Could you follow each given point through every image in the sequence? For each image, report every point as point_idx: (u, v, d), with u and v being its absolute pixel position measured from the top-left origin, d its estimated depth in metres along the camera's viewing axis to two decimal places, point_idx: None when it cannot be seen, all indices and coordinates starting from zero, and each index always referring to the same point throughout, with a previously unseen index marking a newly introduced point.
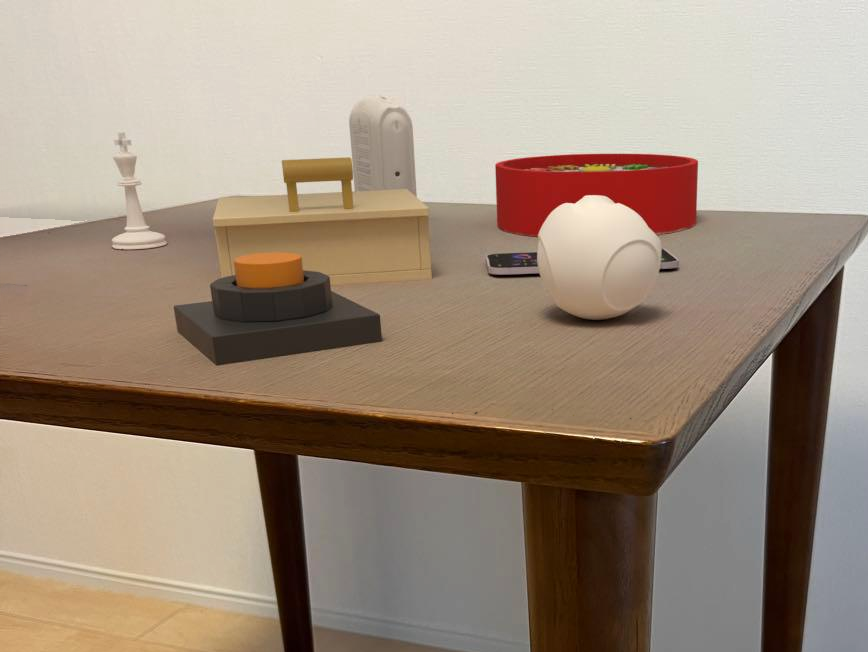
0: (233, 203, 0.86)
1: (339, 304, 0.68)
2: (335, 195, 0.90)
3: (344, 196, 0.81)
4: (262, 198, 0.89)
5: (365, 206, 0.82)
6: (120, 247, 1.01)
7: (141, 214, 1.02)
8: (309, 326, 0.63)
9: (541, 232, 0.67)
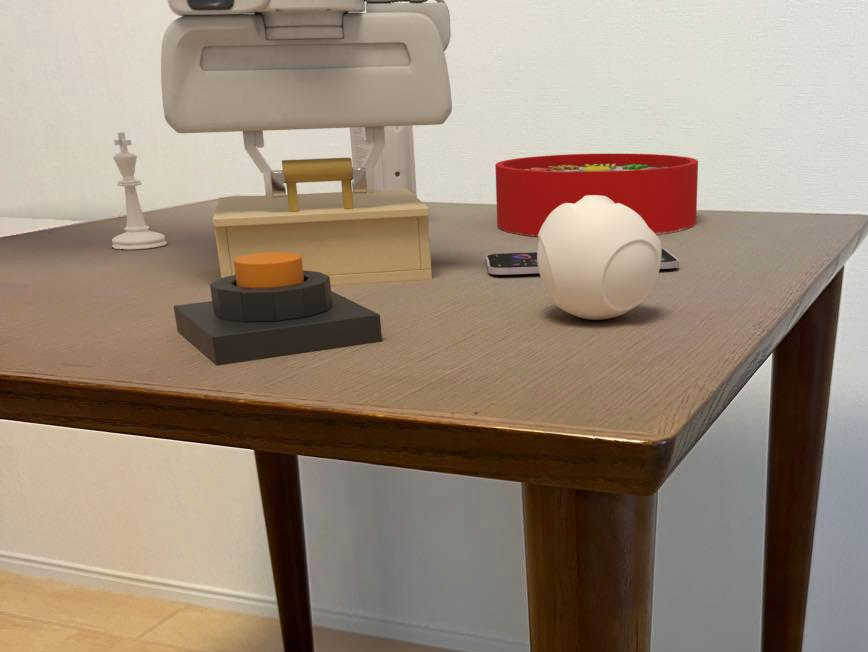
0: (233, 203, 0.86)
1: (339, 304, 0.68)
2: (335, 195, 0.90)
3: (344, 196, 0.81)
4: (262, 198, 0.89)
5: (365, 206, 0.82)
6: (120, 247, 1.01)
7: (141, 214, 1.02)
8: (309, 326, 0.63)
9: (541, 232, 0.67)
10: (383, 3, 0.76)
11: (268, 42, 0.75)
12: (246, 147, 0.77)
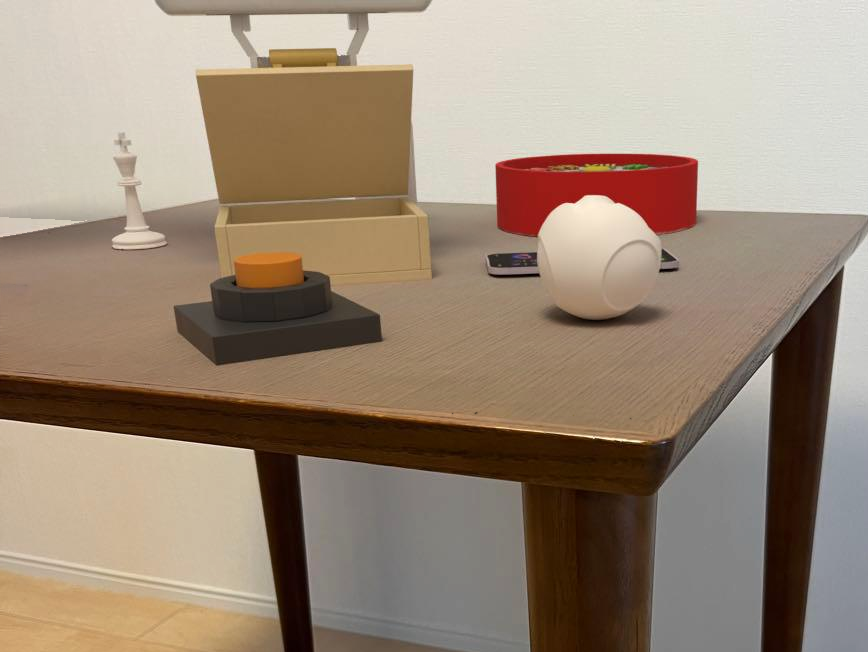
0: None
1: (339, 304, 0.68)
2: None
3: None
4: None
5: None
6: (120, 247, 1.01)
7: (141, 214, 1.02)
8: (309, 326, 0.63)
9: (541, 232, 0.67)
10: None
11: None
12: (233, 30, 0.80)
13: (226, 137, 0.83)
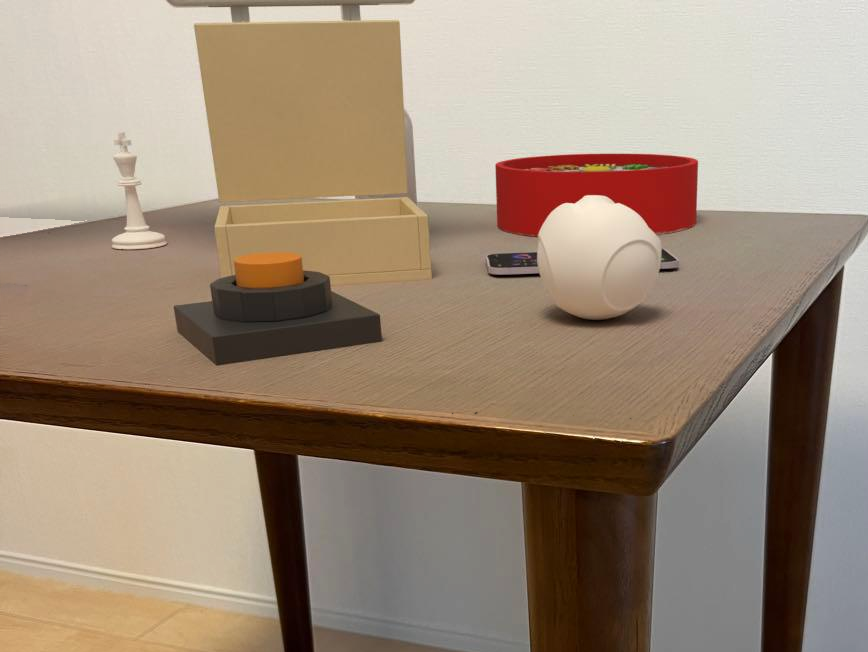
0: None
1: (339, 304, 0.68)
2: None
3: None
4: None
5: None
6: (120, 247, 1.01)
7: (141, 214, 1.02)
8: (309, 326, 0.63)
9: (541, 232, 0.67)
10: None
11: None
12: (233, 21, 0.86)
13: (224, 107, 0.86)
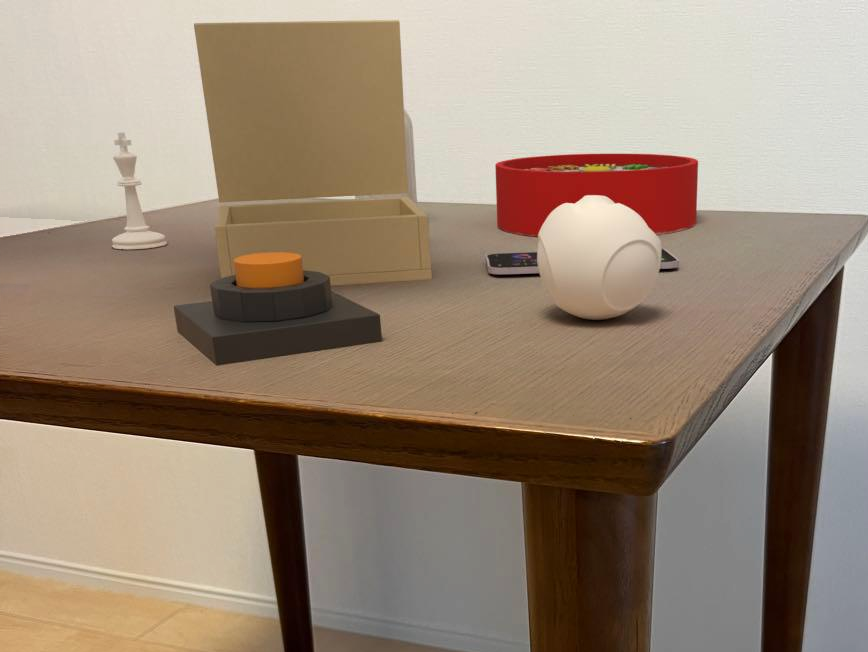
0: None
1: (339, 304, 0.68)
2: None
3: None
4: None
5: None
6: (120, 247, 1.01)
7: (141, 214, 1.02)
8: (309, 326, 0.63)
9: (541, 232, 0.67)
10: None
11: None
12: None
13: (224, 107, 0.86)
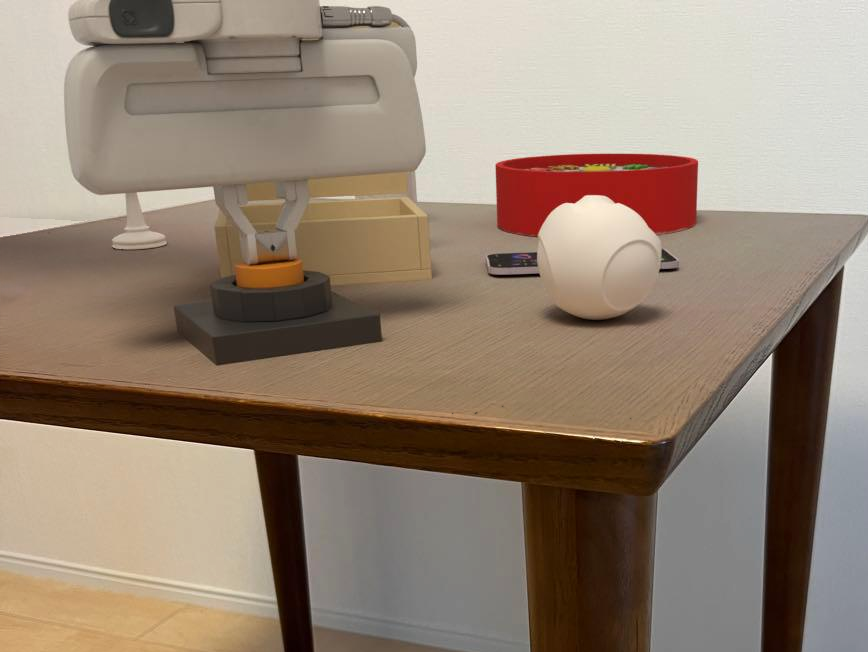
0: None
1: (339, 304, 0.68)
2: None
3: None
4: None
5: None
6: (120, 247, 1.01)
7: (141, 214, 1.02)
8: (309, 326, 0.63)
9: (541, 232, 0.67)
10: (341, 28, 0.63)
11: (210, 77, 0.59)
12: (226, 205, 0.62)
13: None
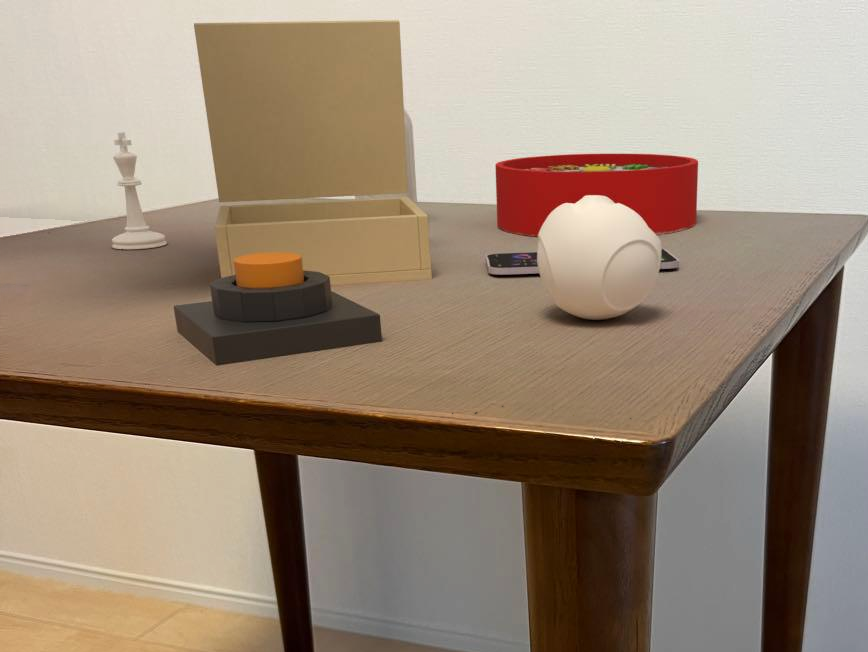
0: None
1: (339, 304, 0.68)
2: None
3: None
4: None
5: None
6: (120, 247, 1.01)
7: (141, 214, 1.02)
8: (309, 326, 0.63)
9: (541, 232, 0.67)
10: None
11: None
12: None
13: (224, 107, 0.86)
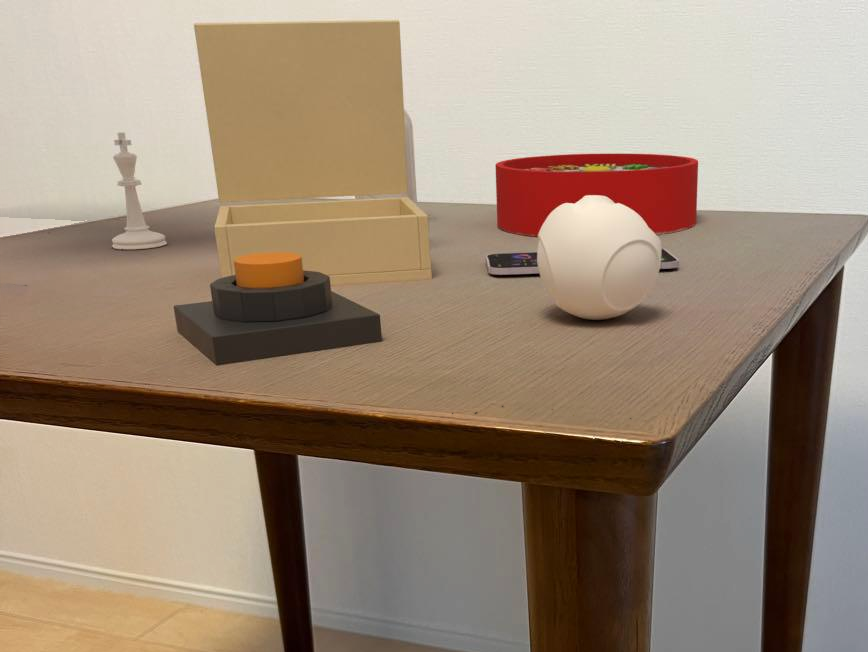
0: None
1: (339, 304, 0.68)
2: None
3: None
4: None
5: None
6: (120, 247, 1.01)
7: (141, 214, 1.02)
8: (309, 326, 0.63)
9: (541, 232, 0.67)
10: None
11: None
12: None
13: (224, 107, 0.86)
